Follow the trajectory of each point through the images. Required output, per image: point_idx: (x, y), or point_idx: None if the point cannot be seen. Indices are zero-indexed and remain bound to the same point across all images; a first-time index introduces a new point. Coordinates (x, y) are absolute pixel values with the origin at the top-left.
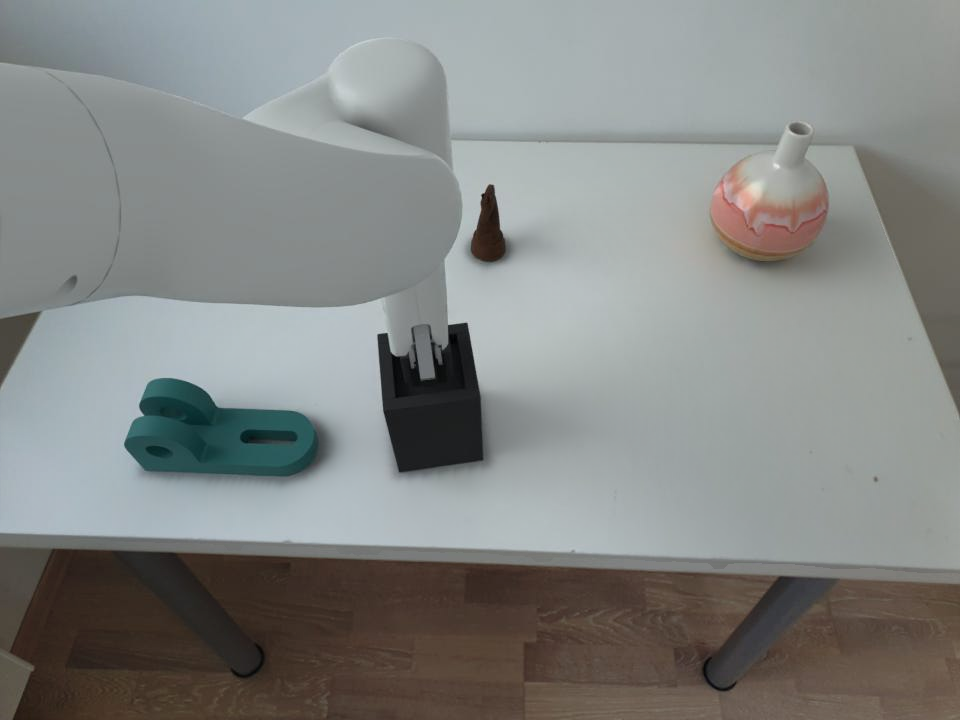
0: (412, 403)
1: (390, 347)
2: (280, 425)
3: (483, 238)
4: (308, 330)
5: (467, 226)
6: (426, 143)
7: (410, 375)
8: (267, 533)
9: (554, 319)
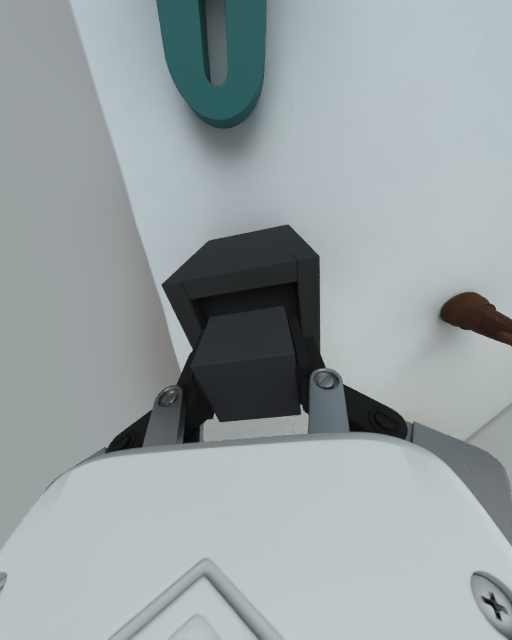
0: (184, 322)
1: (17, 530)
2: (235, 37)
3: (474, 317)
4: (436, 53)
5: (506, 286)
6: None
7: (193, 349)
8: (94, 66)
9: (354, 353)
